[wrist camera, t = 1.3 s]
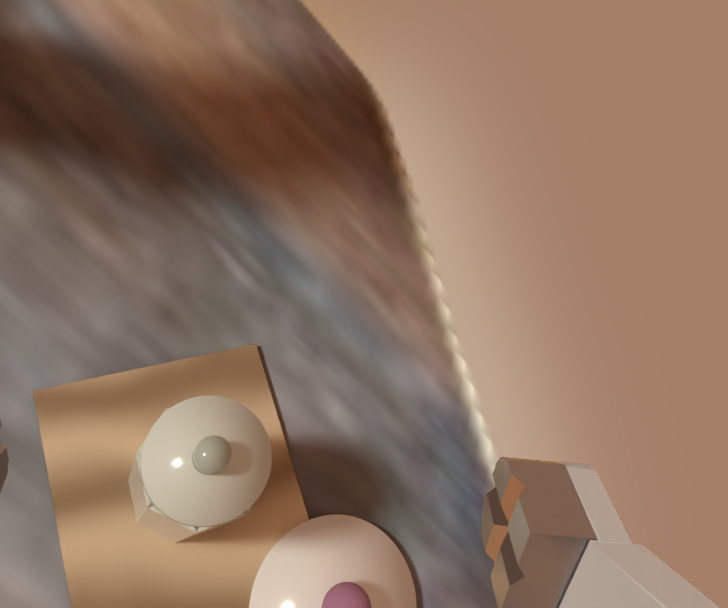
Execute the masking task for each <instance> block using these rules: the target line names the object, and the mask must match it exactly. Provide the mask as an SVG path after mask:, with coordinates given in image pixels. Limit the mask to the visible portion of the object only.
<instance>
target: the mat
mask: <svg viewBox="0 0 728 608" xmlns="http://www.w3.org/2000/svg"><path fill="white" fill-rule="evenodd" d="M33 393H34V399H35V405H36V410H37V416H38V421H39V427H40V433H41V438H42V444H43V449H44V455H45V461H46V466H47V472H48V478H49V483H50V489H51V494H52V500H53V506H54V511H55V517H56V522H57V528H58V534H59V539H60V545H61V551H62V556H63V562H64V567H65V573H66V579H67V584H68V590H69V595H70V601H71V607H72V608H249V603H250V596H251V591H252V588H253V584H254V581H255V578H256V576H257V573H258V571H259V568H260V566H261V565H262V563H263V561H264V559H265V557H266V556H267V554H268V553H269V552H270V550H271V549H272V547H273V546H274V545H275V544H276V543H277V542H278V541H279V540H280V538H282V537H283V536H284V535H285V534H286V533H287V532H289V531H290V530H291V529H293V528H294V527H296V526H297V525H299V524H301V523H303V522H305V521H308V520H309V518H308V515H307V511H306V508H305V505H304V501H303V498H302V495H301V491H300V488H299V485H298V481H297V478H296V475H295V472H294V468H293V465H292V462H291V458H290V455H289V452H288V448H287V445H286V442H285V438H284V435H283V432H282V428H281V425H280V422H279V418H278V415H277V412H276V408H275V405H274V402H273V399H272V395H271V392H270V389H269V385H268V382H267V379H266V375H265V372H264V369H263V365H262V362H261V359H260V355H259V352H258V349H257V345H256V344H253V345H248V346H243V347H239V348H234V349H229V350H225V351H220V352H215V353H210V354H206V355H201V356H196V357H191V358H187V359H182V360H177V361H172V362H168V363H163V364H158V365H154V366H149V367H144V368H139V369H135V370H130V371H125V372H120V373H116V374H111V375H106V376H102V377H97V378H92V379H87V380H83V381H78V382H73V383H68V384H64V385H59V386H54V387H49V388H45V389H40V390H35V391H33ZM209 395H211V396H221V397H226V398H229V399H232V400H234V401H237V402H239V403H241V404H242V405H244V406H245V407H247V408H248V409H249V410H250V411H252V412H253V413H254V414H255V415H256V416H257V418H258V419H259V420H260V422H261V423H262V424H263V426H264V428H265V430H266V432H267V435H268V437H269V440H270V445H271V452H272V464H271V467H272V468H271V471H270V475H269V478H268V481H267V483H266V486H265V488H264V490H263V491H262V493H261V495H260V496H259V497H258V499H257V500H256V501H255V503H254V504H253V505H252V507H251V509H250V511H249V513H248V515H245V516H243V517H241V518H238V519H236V520H234V521H231V522H229V523H227V524H224V525H222V526H220V527H217V528H215V529H212V530H209V531H206V532H204V533H201V534H198V535H195V536H192V537H190V538H187V539H184V540H181V541H179V542H176V543H174V542H172V541H171V540H169V539H167V538H165V537H163V536H161V535H159V534H157V533H155V532H153V531H151V530H149V529H147V528H145V527H143V526H142V525H140V524H138V523H137V520H136V515H135V510H134V506H133V501H132V497H131V492H130V487H129V483H128V480H129V476H130V473H131V469H132V465H133V462H134V458H135V455H136V453H137V452H138V450H139V448H140V447H141V445H142V444H143V442H144V441H145V439H146V438H147V436H148V434H149V432H150V430H151V428H152V427H153V425H154V424H155V423H156V421H157V420H158V419H159V418H160V417H161V415H162V414H163V412H164V411H165V409H167V408H171V407H173V406H174V405H176V404H178V403H180V402H182V401H184V400H187V399H190V398H193V397H198V396H209Z"/></svg>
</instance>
